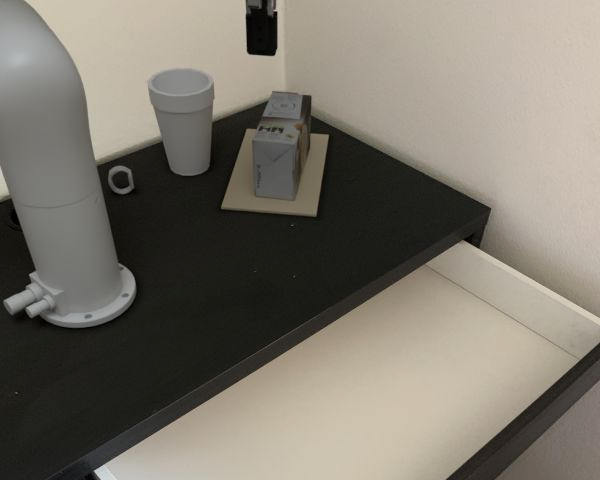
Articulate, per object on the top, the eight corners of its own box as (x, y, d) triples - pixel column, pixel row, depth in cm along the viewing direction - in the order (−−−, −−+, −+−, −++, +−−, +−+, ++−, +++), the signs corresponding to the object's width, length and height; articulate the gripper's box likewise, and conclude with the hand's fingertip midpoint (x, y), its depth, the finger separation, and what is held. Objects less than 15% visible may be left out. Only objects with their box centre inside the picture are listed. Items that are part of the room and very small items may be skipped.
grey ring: (111, 197, 98) (106, 172, 95) (109, 189, 100) (105, 164, 97) (135, 194, 99) (131, 169, 96) (134, 186, 100) (130, 162, 97)
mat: (316, 216, 96) (316, 214, 96) (221, 209, 97) (221, 206, 97) (328, 137, 112) (328, 134, 112) (247, 130, 113) (246, 128, 113)
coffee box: (296, 144, 91) (312, 92, 102) (250, 139, 92) (271, 88, 102) (295, 202, 98) (310, 148, 109) (253, 198, 99) (272, 144, 109)
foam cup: (209, 184, 101) (201, 99, 92) (151, 176, 102) (137, 92, 93) (225, 154, 107) (220, 71, 98) (171, 147, 109) (160, 64, 99)
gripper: (231, -180, 64) (239, 25, 78) (200, -149, 55) (216, 79, 68) (308, -176, 64) (302, 29, 78) (290, -144, 54) (288, 84, 68)
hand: (262, 52), depth 73 cm, fingers closed
